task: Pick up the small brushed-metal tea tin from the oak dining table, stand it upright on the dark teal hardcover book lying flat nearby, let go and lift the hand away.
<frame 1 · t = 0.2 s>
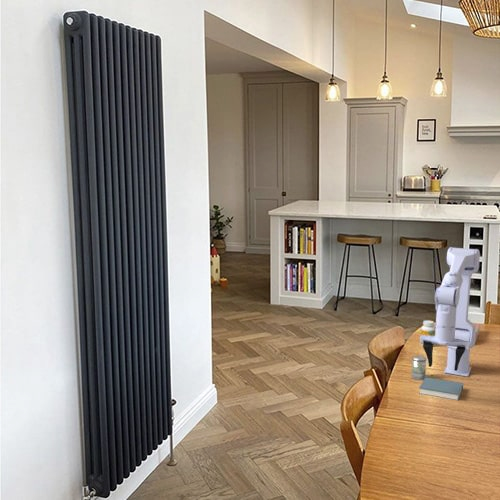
hand: (443, 367, 193), 10 cm above the table, fingers open, 7 cm apart
hardcover book: (441, 392, 200), on the table
supplement bottle: (427, 345, 246), on the table
tea tin: (418, 377, 211), on the table
fruit bowl: (455, 336, 257), on the table
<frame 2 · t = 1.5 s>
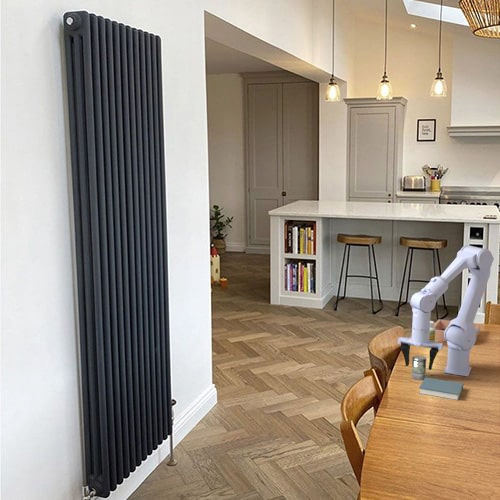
hand: (418, 367, 211), 4 cm above the table, fingers open, 7 cm apart
nothing on the table moved.
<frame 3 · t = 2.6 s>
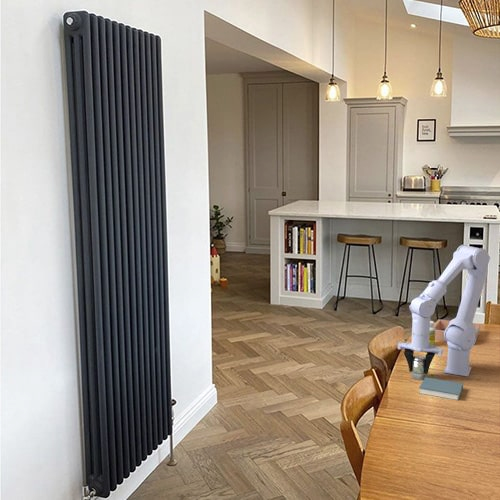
hand: (418, 372, 211), 2 cm above the table, fingers closed on tea tin, 4 cm apart
tea tin: (418, 377, 211), on the table, touching gripper
everything else where it was.
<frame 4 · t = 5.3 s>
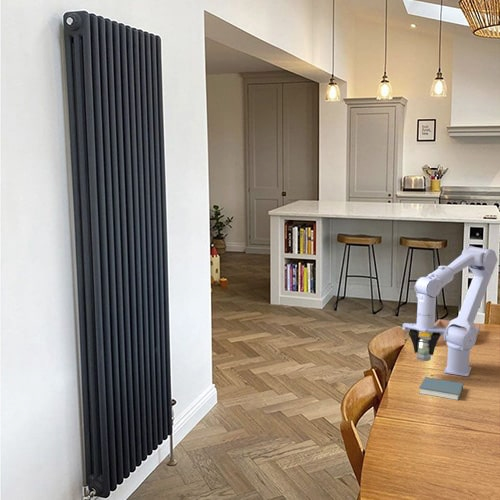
hand: (423, 353, 208), 9 cm above the table, fingers closed on tea tin, 4 cm apart
tea tin: (423, 358, 208), point 7 cm above the table, touching gripper
everything else where it was.
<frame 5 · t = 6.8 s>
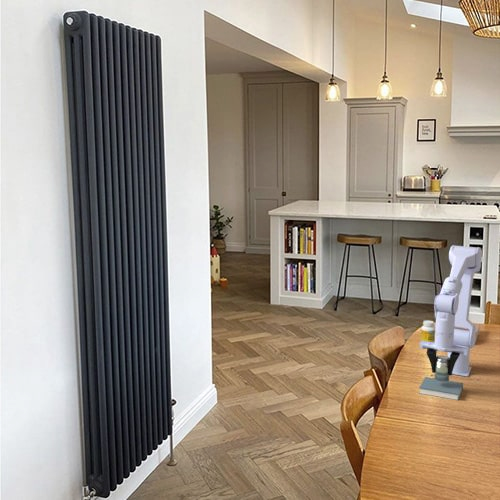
hand: (442, 373, 198), 6 cm above the table, fingers closed on tea tin, 4 cm apart
tea tin: (441, 379, 199), point 4 cm above the table, touching gripper
everything else where it was.
when the fingers open (5 cm above the table, at t = 7.8 s): tea tin drops 1 cm, resting on hardcover book.
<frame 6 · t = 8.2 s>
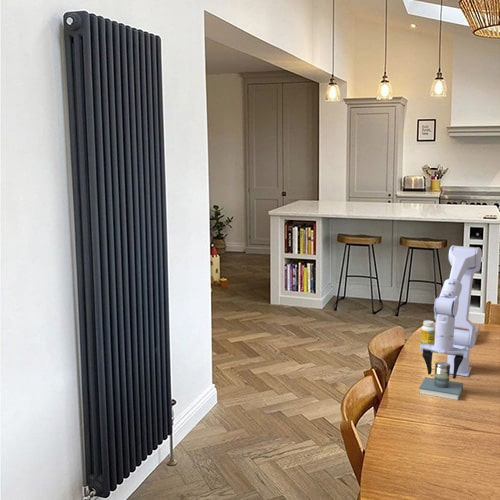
hand: (442, 375, 199), 5 cm above the table, fingers open, 7 cm apart
hardcover book: (441, 392, 200), on the table, touching tea tin
tea tin: (441, 385, 199), point 2 cm above the table, touching hardcover book
everything else where it was.
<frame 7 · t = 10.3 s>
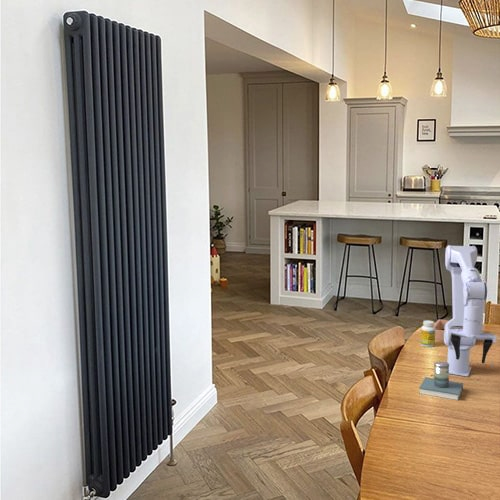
hand: (470, 360, 198), 10 cm above the table, fingers open, 7 cm apart
nothing on the table moved.
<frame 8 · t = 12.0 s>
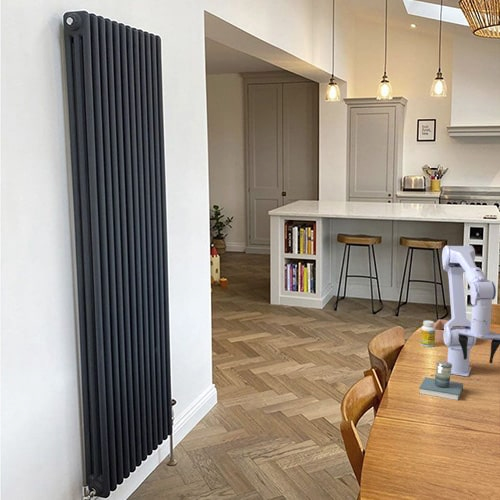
hand: (478, 360, 198), 10 cm above the table, fingers open, 7 cm apart
at the end: tea tin 0.0 cm off-centre on the hardcover book, point 2.6 cm above the hardcover book's base; tea tin tilted 6°; the gripper is holding nothing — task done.
